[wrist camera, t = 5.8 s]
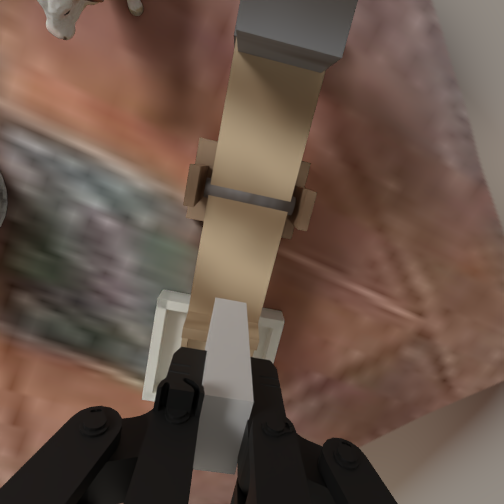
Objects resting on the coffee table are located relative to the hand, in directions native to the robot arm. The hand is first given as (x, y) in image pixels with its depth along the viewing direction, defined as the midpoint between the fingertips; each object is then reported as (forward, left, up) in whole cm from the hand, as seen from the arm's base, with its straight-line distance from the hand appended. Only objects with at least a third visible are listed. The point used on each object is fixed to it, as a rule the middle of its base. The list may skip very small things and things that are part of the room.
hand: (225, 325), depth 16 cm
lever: (-6, 0, -6) cm, 9 cm away
